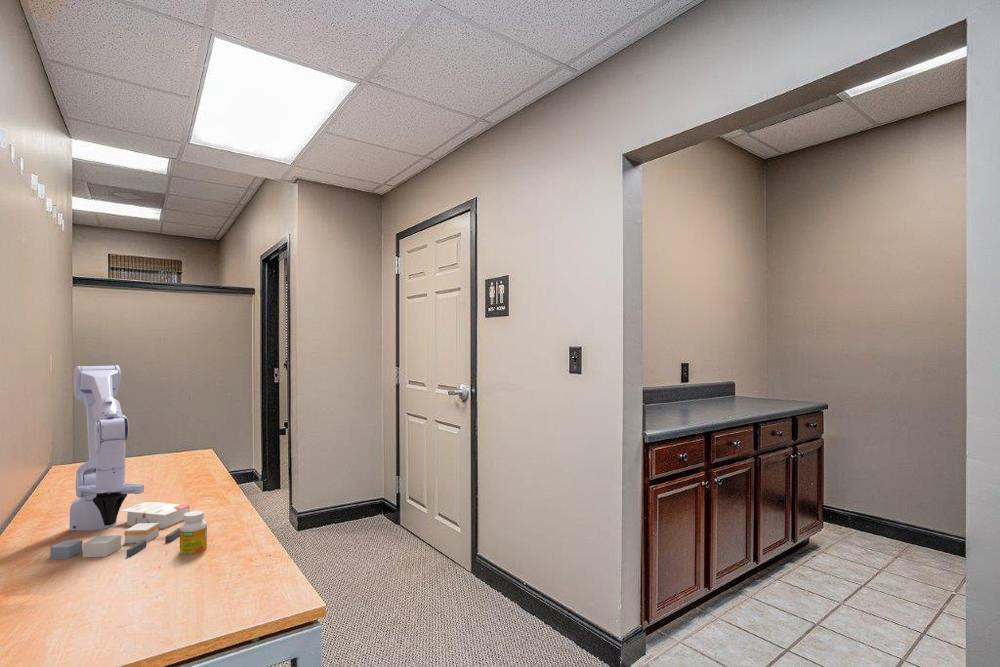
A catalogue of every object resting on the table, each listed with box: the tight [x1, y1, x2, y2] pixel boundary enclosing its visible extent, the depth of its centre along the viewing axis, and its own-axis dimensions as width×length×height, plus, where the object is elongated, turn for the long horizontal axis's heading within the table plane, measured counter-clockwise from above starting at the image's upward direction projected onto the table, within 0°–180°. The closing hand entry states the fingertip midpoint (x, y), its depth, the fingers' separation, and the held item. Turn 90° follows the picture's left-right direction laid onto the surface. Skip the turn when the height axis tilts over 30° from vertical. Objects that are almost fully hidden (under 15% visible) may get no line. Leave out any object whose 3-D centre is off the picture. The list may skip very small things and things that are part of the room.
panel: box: [124, 527, 180, 558], centre depth 124 cm, size 16×16×3 cm
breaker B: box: [82, 534, 122, 558], centre depth 119 cm, size 5×5×3 cm
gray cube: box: [49, 539, 83, 560], centre depth 118 cm, size 4×4×4 cm
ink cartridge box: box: [118, 501, 191, 529], centre depth 141 cm, size 9×5×15 cm
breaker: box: [123, 523, 160, 544], centre depth 127 cm, size 5×5×3 cm
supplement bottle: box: [179, 510, 208, 556], centre depth 121 cm, size 5×5×10 cm
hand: (109, 524), depth 127 cm, fingers closed
